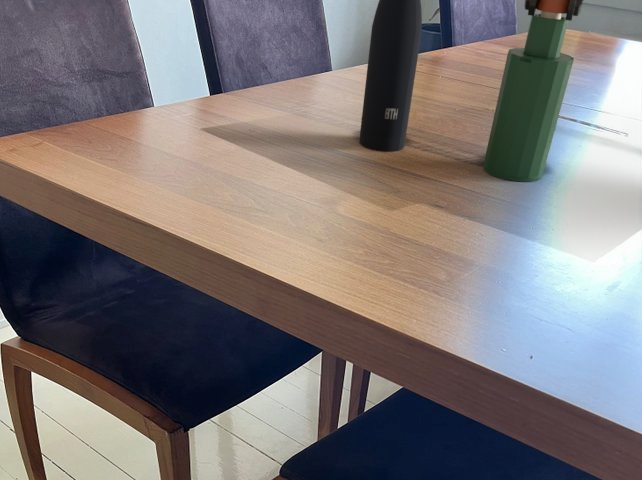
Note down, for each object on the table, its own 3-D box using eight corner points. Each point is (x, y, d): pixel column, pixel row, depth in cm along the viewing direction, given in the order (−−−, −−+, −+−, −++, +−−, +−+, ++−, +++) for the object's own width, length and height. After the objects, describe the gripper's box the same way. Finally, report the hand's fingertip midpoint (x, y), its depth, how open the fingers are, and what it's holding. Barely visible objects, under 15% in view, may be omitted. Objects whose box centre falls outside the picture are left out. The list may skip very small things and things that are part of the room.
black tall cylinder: (380, 135, 106) (414, -127, 88) (413, 147, 103) (456, -123, 84) (349, 141, 103) (377, -130, 84) (382, 154, 99) (420, -127, 81)
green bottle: (552, 173, 98) (594, 20, 87) (525, 186, 93) (567, 24, 82) (500, 158, 102) (535, 9, 90) (472, 169, 97) (505, 13, 86)
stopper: (563, 50, 89) (581, -18, 84) (549, 53, 86) (567, -17, 82) (535, 44, 90) (551, -23, 86) (521, 47, 88) (537, -22, 84)
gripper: (643, -85, 88) (606, 44, 86) (525, -96, 91) (487, 27, 90) (661, -143, 81) (620, -4, 79) (531, -154, 84) (490, -20, 82)
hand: (550, 12), depth 84 cm, fingers closed on stopper, 3 cm apart
